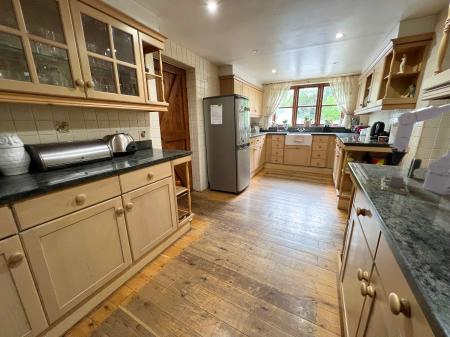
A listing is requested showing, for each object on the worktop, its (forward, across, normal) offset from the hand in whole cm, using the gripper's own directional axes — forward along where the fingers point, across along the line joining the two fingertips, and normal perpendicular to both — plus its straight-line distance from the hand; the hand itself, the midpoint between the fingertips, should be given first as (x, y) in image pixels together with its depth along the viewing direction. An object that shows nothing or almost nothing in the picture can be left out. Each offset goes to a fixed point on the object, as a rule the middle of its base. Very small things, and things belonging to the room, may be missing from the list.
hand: (395, 163), depth 99 cm
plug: (+9, +18, +1) cm, 20 cm away
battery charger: (+10, -16, +10) cm, 22 cm away
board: (+10, +12, +1) cm, 15 cm away
